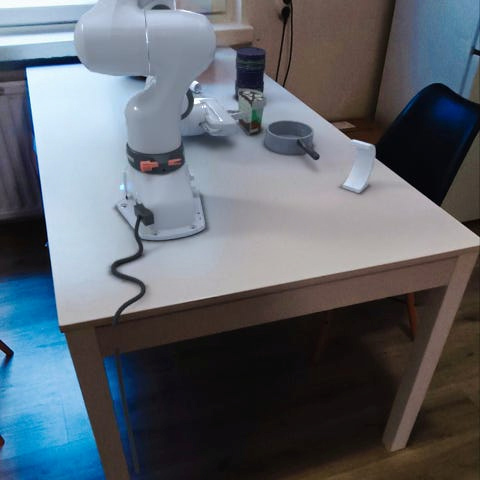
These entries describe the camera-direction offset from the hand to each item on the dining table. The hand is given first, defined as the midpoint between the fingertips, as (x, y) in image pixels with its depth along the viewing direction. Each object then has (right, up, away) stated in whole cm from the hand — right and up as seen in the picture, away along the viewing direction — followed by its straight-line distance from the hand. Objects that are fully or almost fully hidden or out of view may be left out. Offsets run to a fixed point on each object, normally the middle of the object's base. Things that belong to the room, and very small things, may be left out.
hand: (241, 114), depth 142 cm
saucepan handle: (+17, -14, -13) cm, 26 cm away
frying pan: (-27, +25, +37) cm, 52 cm away
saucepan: (+13, -10, -3) cm, 17 cm away
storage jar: (+3, +14, +26) cm, 30 cm away
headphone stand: (+28, -25, -21) cm, 43 cm away
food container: (+4, -3, +5) cm, 7 cm away
